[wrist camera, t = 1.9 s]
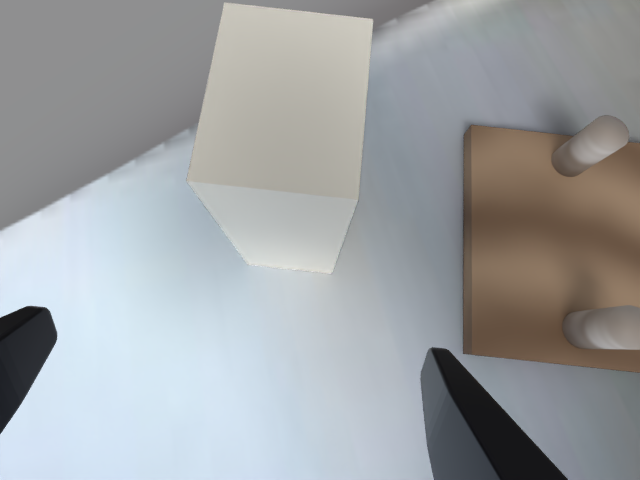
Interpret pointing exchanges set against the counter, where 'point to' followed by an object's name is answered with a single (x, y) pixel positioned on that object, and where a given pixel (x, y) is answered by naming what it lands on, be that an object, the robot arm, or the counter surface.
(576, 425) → the counter surface
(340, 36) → the block
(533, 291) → the tray
